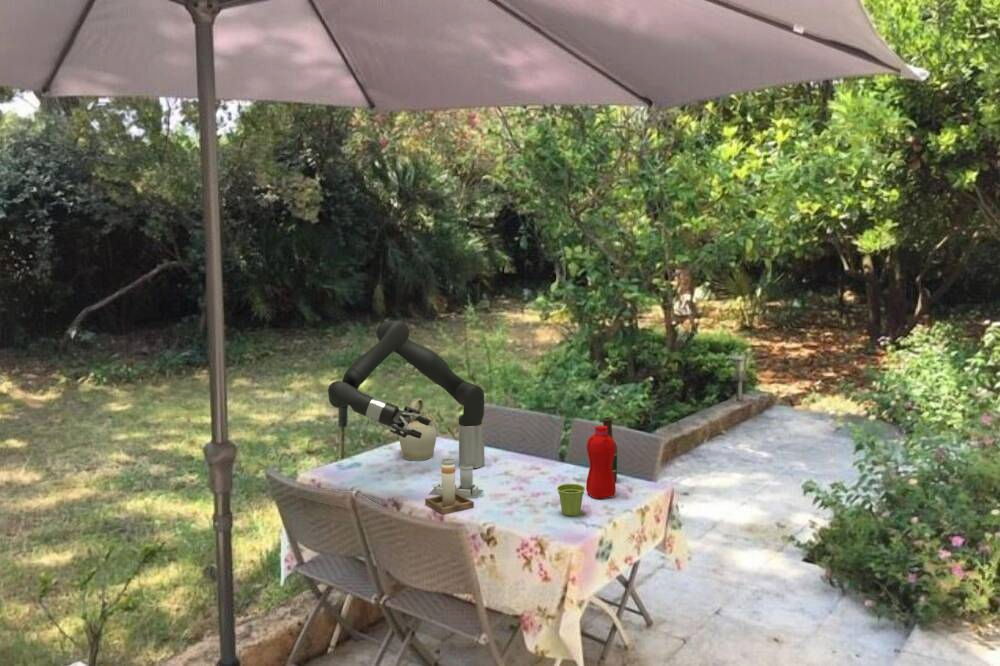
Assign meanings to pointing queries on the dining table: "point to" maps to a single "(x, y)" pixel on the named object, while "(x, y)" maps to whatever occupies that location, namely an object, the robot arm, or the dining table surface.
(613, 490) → the water bottle
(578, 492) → the plant pot
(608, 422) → the beer bottle
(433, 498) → the tray
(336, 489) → the dining table surface
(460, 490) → the clip block
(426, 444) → the jug
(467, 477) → the fuse
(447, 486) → the cylinder
